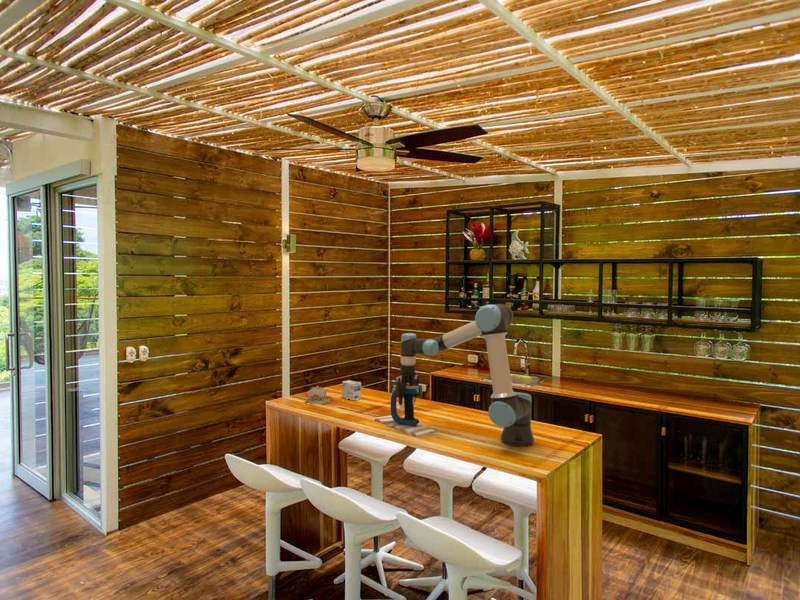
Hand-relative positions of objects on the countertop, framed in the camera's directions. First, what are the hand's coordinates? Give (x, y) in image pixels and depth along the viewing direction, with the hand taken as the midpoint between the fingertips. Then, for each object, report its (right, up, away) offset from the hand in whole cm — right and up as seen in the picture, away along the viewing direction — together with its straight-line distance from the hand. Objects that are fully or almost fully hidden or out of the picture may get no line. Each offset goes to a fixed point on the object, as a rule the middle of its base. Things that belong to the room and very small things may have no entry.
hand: (406, 410), depth 269 cm
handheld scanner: (0, -7, +1) cm, 7 cm away
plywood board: (-1, -9, +2) cm, 9 cm away
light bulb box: (-33, -6, +62) cm, 70 cm away
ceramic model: (-53, -6, +50) cm, 73 cm away
